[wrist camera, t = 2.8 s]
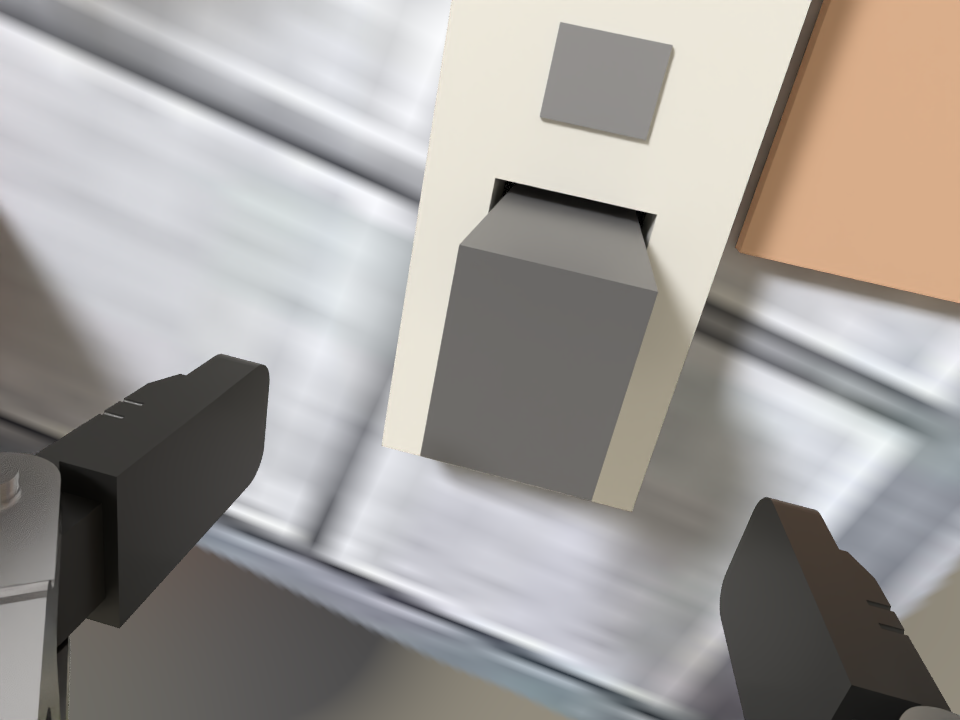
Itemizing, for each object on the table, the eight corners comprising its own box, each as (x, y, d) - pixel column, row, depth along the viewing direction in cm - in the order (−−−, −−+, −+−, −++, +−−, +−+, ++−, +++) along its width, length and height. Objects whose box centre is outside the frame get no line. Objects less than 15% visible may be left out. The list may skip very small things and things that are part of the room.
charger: (517, 181, 22) (459, 244, 13) (634, 208, 22) (657, 291, 13) (488, 318, 24) (419, 455, 15) (595, 344, 24) (591, 501, 15)
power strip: (584, -659, 15) (580, -834, 12) (990, -608, 14) (1088, -783, 12) (404, 408, 26) (380, 448, 23) (628, 466, 26) (632, 514, 23)
